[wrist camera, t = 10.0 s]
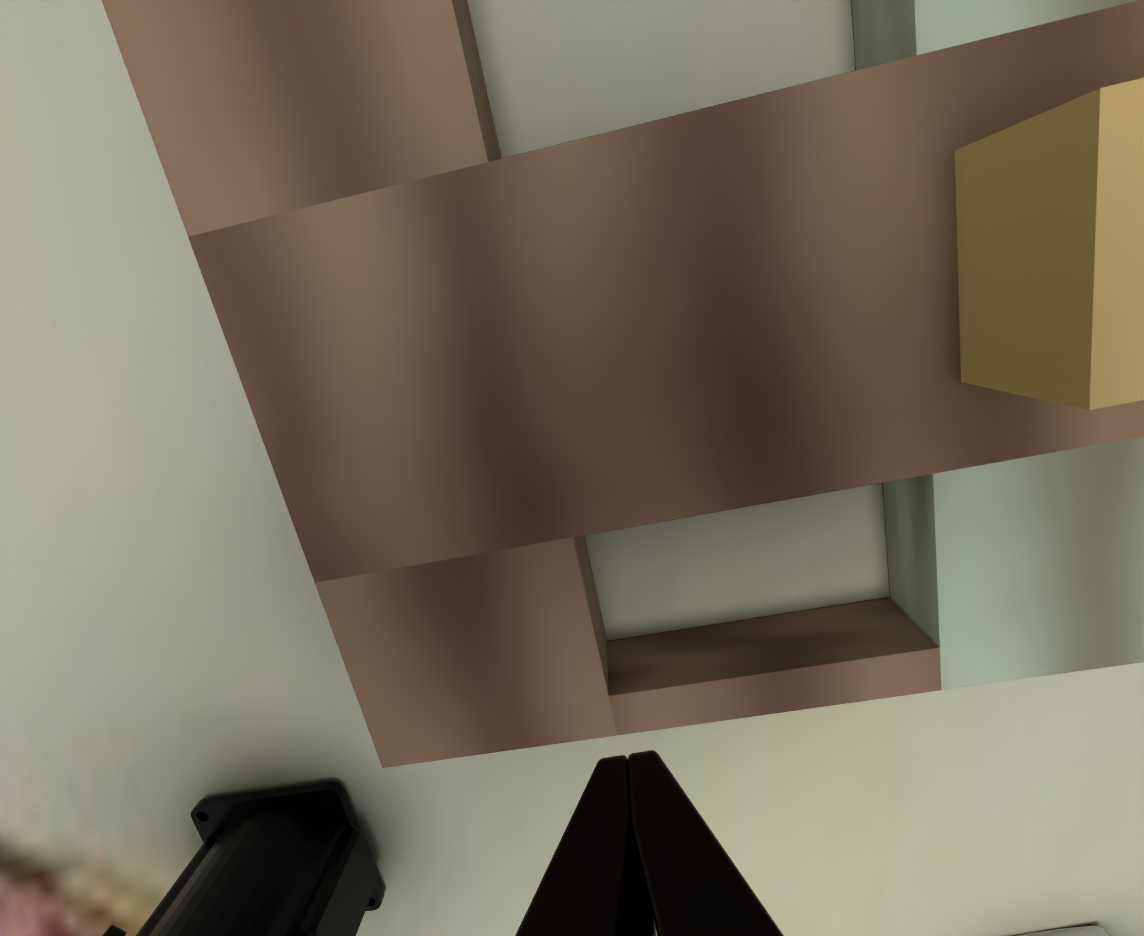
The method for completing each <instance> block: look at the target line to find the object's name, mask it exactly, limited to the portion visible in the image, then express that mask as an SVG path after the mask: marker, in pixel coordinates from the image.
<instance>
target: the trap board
mask: <svg viewBox="0 0 1144 936" xmlns="http://www.w3.org/2000/svg"><path fill="white" fill-rule="evenodd" d="M102 2H103V5H104V8H105V11H106V13H107V16H108V19H109V22H110V24H111V27H112V30H113V32H114V35H115V38H116V41H117V43H118V46H119V49H120V52H121V54H122V57H123V60H124V63H125V65H126V68H127V71H128V73H129V76H130V79H131V82H132V84H133V87H134V90H135V93H136V95H137V98H138V101H139V103H140V106H141V109H142V112H143V114H144V117H145V120H146V123H147V125H148V128H149V131H150V134H151V136H152V139H153V142H154V144H155V147H156V150H157V153H158V155H159V158H160V161H161V164H162V166H163V169H164V172H165V174H166V177H167V180H168V183H169V185H170V188H171V191H172V194H173V196H174V199H175V202H176V205H177V207H178V210H179V213H180V215H181V218H182V221H183V224H184V226H185V229H186V232H187V235H188V237H189V240H190V243H191V245H192V248H193V251H194V254H195V256H196V259H197V262H198V265H199V267H200V270H201V273H202V276H203V278H204V281H205V284H206V286H207V289H208V292H209V295H210V297H211V300H212V303H213V306H214V308H215V311H216V314H217V317H218V319H219V322H220V325H221V327H222V330H223V333H224V336H225V338H226V341H227V344H228V347H229V349H230V352H231V355H232V357H233V360H234V363H235V366H236V368H237V371H238V374H239V377H240V379H241V382H242V385H243V388H244V390H245V393H246V396H247V398H248V401H249V404H250V407H251V409H252V412H253V415H254V418H255V420H256V423H257V426H258V428H259V431H260V434H261V437H262V439H263V442H264V445H265V448H266V450H267V453H268V456H269V459H270V461H271V464H272V467H273V469H274V472H275V475H276V478H277V480H278V483H279V486H280V489H281V491H282V494H283V497H284V499H285V502H286V505H287V508H288V510H289V513H290V516H291V519H292V521H293V524H294V527H295V530H296V532H297V535H298V538H299V540H300V543H301V546H302V549H303V551H304V554H305V557H306V560H307V562H308V565H309V568H310V570H311V573H312V576H313V579H314V581H315V584H316V587H317V590H318V592H319V595H320V598H321V601H322V603H323V606H324V609H325V611H326V614H327V617H328V620H329V622H330V625H331V628H332V631H333V633H334V636H335V639H336V642H337V644H338V647H339V650H340V652H341V655H342V658H343V661H344V663H345V666H346V669H347V672H348V674H349V677H350V680H351V682H352V685H353V688H354V691H355V693H356V696H357V699H358V702H359V704H360V707H361V710H362V713H363V715H364V718H365V721H366V723H367V726H368V729H369V732H370V734H371V737H372V740H373V743H374V745H375V748H376V751H377V753H378V756H379V759H380V762H381V764H382V767H383V768H385V767H392V766H399V765H407V764H414V763H421V762H428V761H435V760H443V759H450V758H457V757H464V756H471V755H479V754H486V753H493V752H500V751H507V750H514V749H522V748H529V747H536V746H543V745H550V744H558V743H565V742H572V741H579V740H586V739H594V738H601V737H608V736H615V735H622V734H629V733H637V732H644V731H651V730H658V729H665V728H673V727H680V726H687V725H694V724H701V723H708V722H716V721H723V720H730V719H737V718H744V717H752V716H759V715H766V714H773V713H780V712H788V711H795V710H802V709H809V708H816V707H823V706H831V705H838V704H845V703H852V702H859V701H867V700H874V699H881V698H888V697H895V696H903V695H910V694H917V693H924V692H931V691H938V690H946V689H953V688H960V687H967V686H974V685H982V684H989V683H996V682H1003V681H1010V680H1017V679H1025V678H1032V677H1039V676H1046V675H1053V674H1061V673H1068V672H1075V671H1082V670H1089V669H1097V668H1104V667H1111V666H1118V665H1125V664H1132V663H1140V662H1144V400H1142V401H1136V402H1131V403H1125V404H1120V405H1115V406H1109V407H1104V408H1098V409H1093V410H1087V409H1082V408H1077V407H1073V406H1068V405H1064V404H1059V403H1054V402H1050V401H1045V400H1041V399H1036V398H1031V397H1027V396H1022V395H1018V394H1013V393H1008V392H1004V391H999V390H995V389H990V388H986V387H981V386H976V385H972V384H967V383H963V382H961V360H960V324H959V287H958V251H957V214H956V178H955V150H957V149H960V148H962V147H964V146H967V145H969V144H971V143H974V142H976V141H978V140H981V139H983V138H985V137H988V136H990V135H992V134H995V133H997V132H999V131H1002V130H1004V129H1006V128H1009V127H1011V126H1013V125H1016V124H1018V123H1020V122H1023V121H1025V120H1027V119H1030V118H1032V117H1034V116H1037V115H1039V114H1041V113H1044V112H1046V111H1048V110H1051V109H1053V108H1055V107H1058V106H1060V105H1062V104H1065V103H1067V102H1069V101H1072V100H1074V99H1076V98H1079V97H1081V96H1083V95H1085V94H1088V93H1090V92H1092V91H1095V90H1097V89H1099V88H1103V87H1107V86H1111V85H1115V84H1120V83H1124V82H1128V81H1132V80H1136V79H1141V78H1144V0H852V14H853V30H854V45H855V61H856V71H852V72H848V73H844V74H840V75H836V76H832V77H828V78H824V79H820V80H816V81H812V82H808V83H804V84H800V85H796V86H792V87H788V88H784V89H780V90H776V91H772V92H768V93H764V94H760V95H756V96H752V97H748V98H744V99H740V100H735V101H731V102H727V103H723V104H719V105H715V106H711V107H707V108H703V109H699V110H695V111H691V112H687V113H683V114H679V115H675V116H671V117H667V118H663V119H659V120H655V121H651V122H647V123H643V124H639V125H635V126H631V127H627V128H623V129H619V130H615V131H611V132H607V133H603V134H599V135H595V136H591V137H587V138H583V139H579V140H575V141H571V142H567V143H563V144H559V145H554V146H550V147H546V148H542V149H538V150H534V151H530V152H526V153H522V154H518V155H514V156H510V157H506V158H502V159H501V155H500V150H499V146H498V141H497V137H496V132H495V127H494V123H493V118H492V114H491V109H490V105H489V100H488V96H487V91H486V86H485V82H484V77H483V73H482V68H481V64H480V59H479V54H478V50H477V45H476V41H475V36H474V32H473V27H472V23H471V18H470V13H469V9H468V4H467V0H102ZM878 483H883V495H884V510H885V526H886V542H887V557H888V573H889V588H890V597H889V598H883V599H877V600H870V601H864V602H857V603H851V604H845V605H838V606H832V607H825V608H819V609H813V610H806V611H800V612H793V613H787V614H781V615H774V616H768V617H761V618H755V619H749V620H742V621H736V622H729V623H723V624H717V625H710V626H704V627H697V628H691V629H685V630H678V631H672V632H666V633H659V634H653V635H646V636H640V637H634V638H627V639H621V640H614V641H608V642H607V638H606V633H605V629H604V624H603V620H602V615H601V611H600V606H599V602H598V597H597V592H596V588H595V583H594V579H593V574H592V570H591V565H590V561H589V556H588V551H587V547H586V542H585V538H584V535H588V534H594V533H600V532H606V531H611V530H617V529H623V528H628V527H634V526H640V525H645V524H651V523H657V522H662V521H668V520H674V519H679V518H685V517H691V516H696V515H702V514H708V513H713V512H719V511H725V510H730V509H736V508H742V507H747V506H753V505H759V504H764V503H770V502H776V501H781V500H787V499H793V498H798V497H804V496H810V495H815V494H821V493H827V492H832V491H838V490H844V489H849V488H855V487H861V486H866V485H872V484H878Z"/></svg>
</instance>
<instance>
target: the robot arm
mask: <svg viewBox="0 0 1144 936" xmlns="http://www.w3.org/2000/svg"><path fill="white" fill-rule="evenodd" d="M330 795H331V796H330ZM191 817H192V820H193V822H194V824H195V826H196V828H197V830H198V832H199V834H200V836H201V838H202V840H203V842H204V844H203V845H202V846H201V848H200V849H199V851H198V852H197V853H196V855H195V856H194V857H193V859H192V860H191V861H190V863H189V864H188V866H187V867H186V868H185V870H184V871H183V872H182V874H181V875H180V876H179V878H178V879H177V881H176V882H175V883H174V885H173V886H172V887H171V889H170V890H169V892H168V893H167V894H166V896H165V897H164V898H163V900H162V901H161V902H160V904H159V905H158V907H157V908H156V909H155V911H154V912H153V913H152V915H151V916H150V917H149V919H148V920H147V922H146V923H145V924H144V926H143V927H142V928H141V930H140V931H139V932H138V934H137V935H136V936H356V934H357V931H358V928H359V926H360V923H361V921H362V918H363V915H364V913H365V911H371V910H376V909H378V908H379V907H380V905H381V903H382V900H383V897H384V895H385V894H384V889H383V887H382V884H381V882H380V879H379V877H378V873H377V871H376V868H375V866H374V863H373V861H372V858H371V856H370V853H369V851H368V848H367V845H366V843H365V840H364V838H363V835H362V833H361V831H360V828H359V826H358V823H357V821H356V818H355V816H354V813H353V811H352V808H351V806H350V803H349V800H348V798H347V795H346V793H345V790H344V789H343V787H342V786H341V785H340V784H338V783H336V782H323V783H316V784H309V785H301V786H294V787H287V788H280V789H272V790H265V791H258V792H251V793H243V794H236V795H229V796H222V797H214V798H207V799H203V800H200V801H199V802H198V804H197V805H196V806H195V807H194V809H193V810H192V811H191ZM656 932H657V935H656ZM126 933H127V932H126V931H124V930H122V929H120V928H119V927H117V926H115V925H113V924H112V925H111V926H110V927H109V928H108V929H107V931H106V932H105V933H104V934H103V935H102V936H125V934H126ZM515 936H784V935H783V934H782V933H781V931H780V930H779V928H778V927H777V925H776V924H775V922H774V921H773V920H772V918H771V917H770V915H769V914H768V912H767V911H766V909H765V908H764V907H763V905H762V904H761V902H760V901H759V899H758V898H757V896H756V895H755V893H754V892H753V891H752V889H751V888H750V886H749V885H748V883H747V882H746V880H745V879H744V878H743V876H742V875H741V873H740V872H739V870H738V869H737V867H736V866H735V865H734V863H733V862H732V860H731V859H730V857H729V856H728V854H727V853H726V852H725V850H724V849H723V847H722V846H721V844H720V843H719V841H718V840H717V839H716V837H715V836H714V834H713V833H712V831H711V830H710V828H709V827H708V826H707V824H706V823H705V821H704V820H703V818H702V817H701V815H700V814H699V813H698V811H697V810H696V808H695V807H694V805H693V804H692V802H691V801H690V800H689V798H688V797H687V795H686V794H685V792H684V791H683V789H682V788H681V787H680V785H679V784H678V782H677V781H676V779H675V778H674V776H673V775H672V773H671V772H670V771H669V769H668V768H667V766H666V765H665V763H664V762H663V760H662V759H661V758H660V756H659V755H658V754H657V753H656V752H655V751H653V750H651V751H645V752H638V753H632V754H630V755H629V757H628V759H627V757H626V756H624V755H620V756H614V757H608V758H602V759H600V760H599V761H598V763H597V765H596V767H595V769H594V771H593V773H592V775H591V777H590V780H589V782H588V784H587V786H586V788H585V790H584V792H583V794H582V796H581V799H580V801H579V803H578V805H577V807H576V809H575V811H574V813H573V815H572V817H571V820H570V822H569V824H568V826H567V828H566V830H565V832H564V834H563V836H562V839H561V841H560V843H559V845H558V847H557V849H556V851H555V853H554V855H553V857H552V860H551V862H550V864H549V866H548V868H547V870H546V872H545V874H544V876H543V878H542V881H541V883H540V885H539V887H538V889H537V891H536V893H535V895H534V897H533V900H532V902H531V904H530V906H529V908H528V910H527V912H526V914H525V916H524V918H523V921H522V923H521V925H520V927H519V929H518V931H517V933H516V935H515Z"/></svg>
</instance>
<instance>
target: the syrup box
mask: <svg viewBox="0 0 1144 936" xmlns="http://www.w3.org/2000/svg"><path fill="white" fill-rule="evenodd" d="M1018 936H1110V935H1109V934H1108V933H1107V932H1106V930H1104V929H1103V928H1102V927H1099V926H1084V927H1074V928H1064V929H1055V930H1049V931H1042V932H1035V933H1028V934H1023V935H1018Z"/></svg>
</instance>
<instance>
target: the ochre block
mask: <svg viewBox="0 0 1144 936" xmlns="http://www.w3.org/2000/svg"><path fill="white" fill-rule="evenodd" d="M955 178H956V214H957V251H958V287H959V324H960V360H961V382H963V383H967V384H972V385H976V386H981V387H986V388H990V389H995V390H999V391H1004V392H1008V393H1013V394H1018V395H1022V396H1027V397H1031V398H1036V399H1041V400H1045V401H1050V402H1054V403H1059V404H1064V405H1068V406H1073V407H1077V408H1082V409H1087V410H1093V409H1098V408H1104V407H1109V406H1115V405H1120V404H1125V403H1131V402H1136V401H1142V400H1144V78H1141V79H1136V80H1132V81H1128V82H1124V83H1120V84H1115V85H1111V86H1107V87H1103V88H1099V89H1097V90H1095V91H1092V92H1090V93H1088V94H1085V95H1083V96H1081V97H1079V98H1076V99H1074V100H1072V101H1069V102H1067V103H1065V104H1062V105H1060V106H1058V107H1055V108H1053V109H1051V110H1048V111H1046V112H1044V113H1041V114H1039V115H1037V116H1034V117H1032V118H1030V119H1027V120H1025V121H1023V122H1020V123H1018V124H1016V125H1013V126H1011V127H1009V128H1006V129H1004V130H1002V131H999V132H997V133H995V134H992V135H990V136H988V137H985V138H983V139H981V140H978V141H976V142H974V143H971V144H969V145H967V146H964V147H962V148H960V149H957V150H955Z"/></svg>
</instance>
